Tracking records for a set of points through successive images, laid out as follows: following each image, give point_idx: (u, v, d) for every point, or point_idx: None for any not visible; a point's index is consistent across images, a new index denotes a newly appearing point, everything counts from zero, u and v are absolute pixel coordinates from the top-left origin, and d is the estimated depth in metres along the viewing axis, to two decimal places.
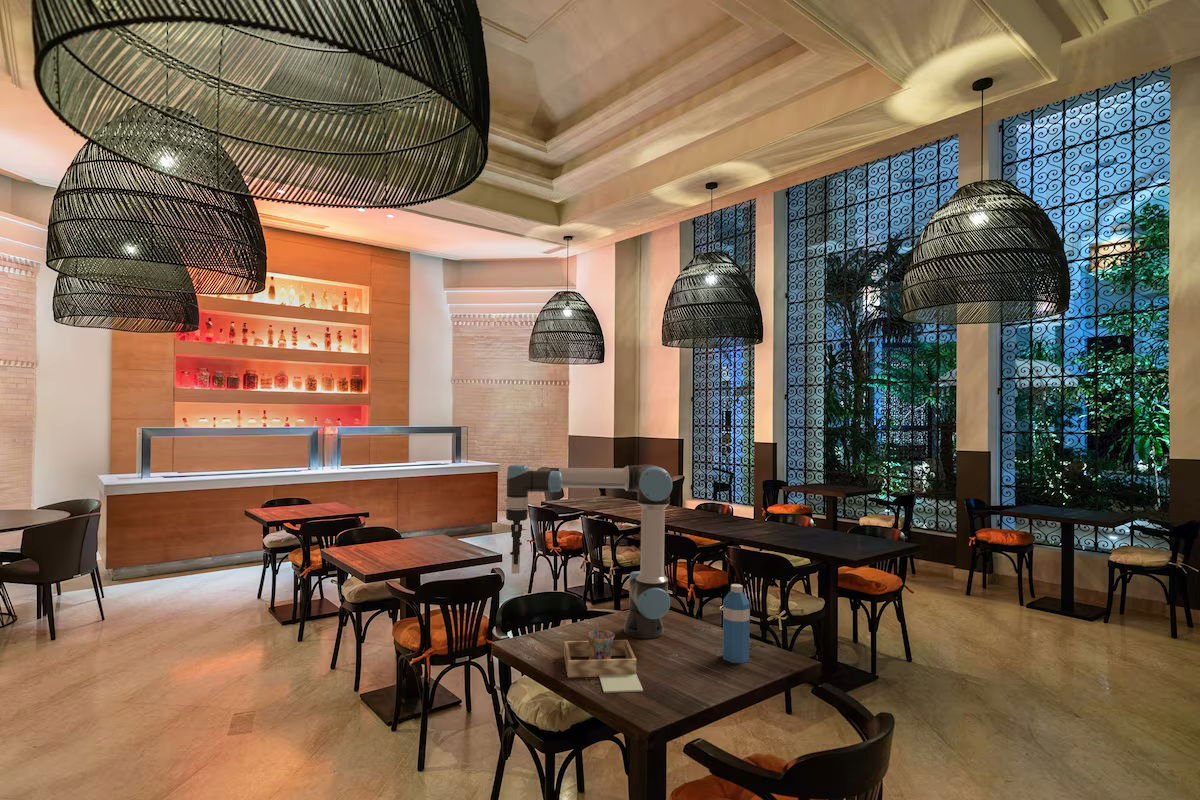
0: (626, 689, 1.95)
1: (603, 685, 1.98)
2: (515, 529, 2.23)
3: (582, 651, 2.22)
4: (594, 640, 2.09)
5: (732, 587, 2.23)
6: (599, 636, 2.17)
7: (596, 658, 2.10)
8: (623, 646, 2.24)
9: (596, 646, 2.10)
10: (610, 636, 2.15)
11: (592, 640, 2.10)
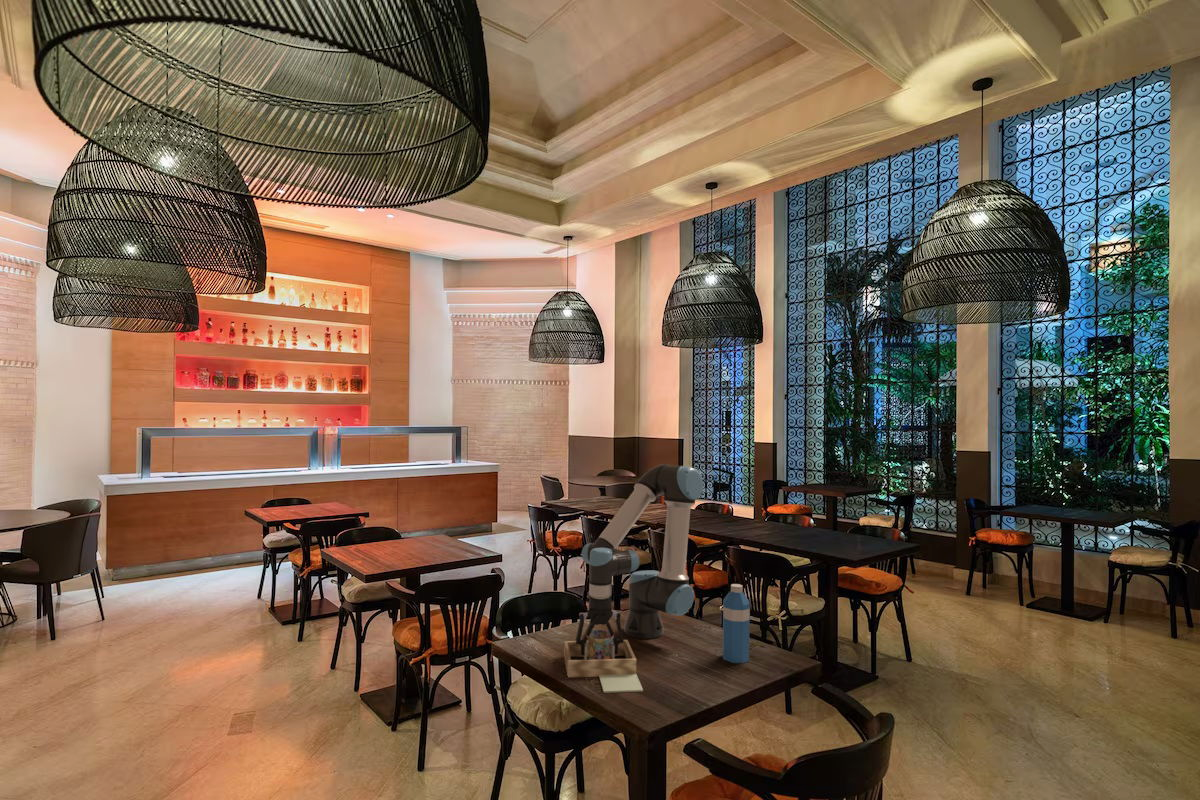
0: (626, 689, 1.95)
1: (603, 685, 1.98)
2: None
3: None
4: (594, 640, 2.09)
5: (732, 587, 2.23)
6: (598, 636, 2.17)
7: (596, 658, 2.10)
8: (623, 646, 2.24)
9: (596, 646, 2.10)
10: (610, 636, 2.15)
11: (592, 640, 2.10)
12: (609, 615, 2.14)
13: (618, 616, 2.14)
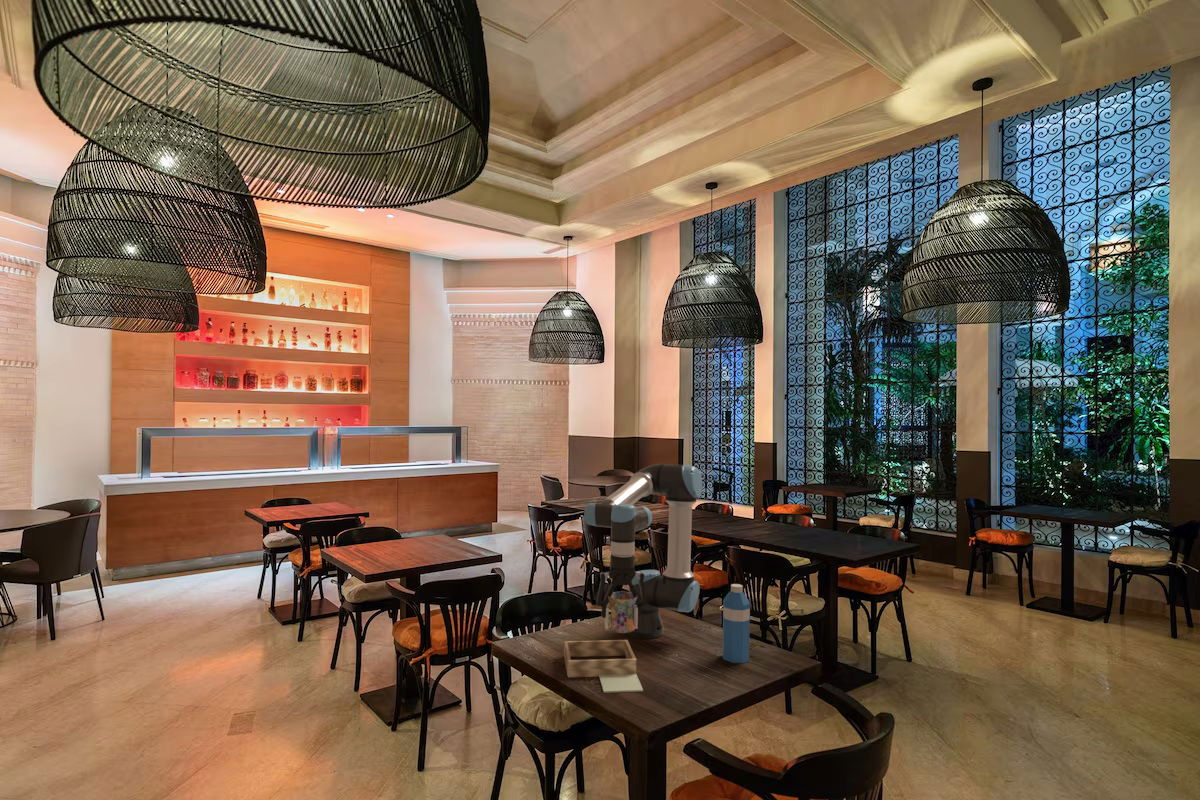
0: (626, 689, 1.95)
1: (603, 685, 1.98)
2: (600, 577, 2.01)
3: (582, 651, 2.22)
4: (616, 601, 1.96)
5: (732, 587, 2.23)
6: (620, 598, 2.03)
7: (618, 620, 1.96)
8: (623, 646, 2.24)
9: (618, 607, 1.96)
10: (632, 598, 2.01)
11: (614, 601, 1.96)
12: (632, 575, 2.00)
13: (641, 576, 2.01)
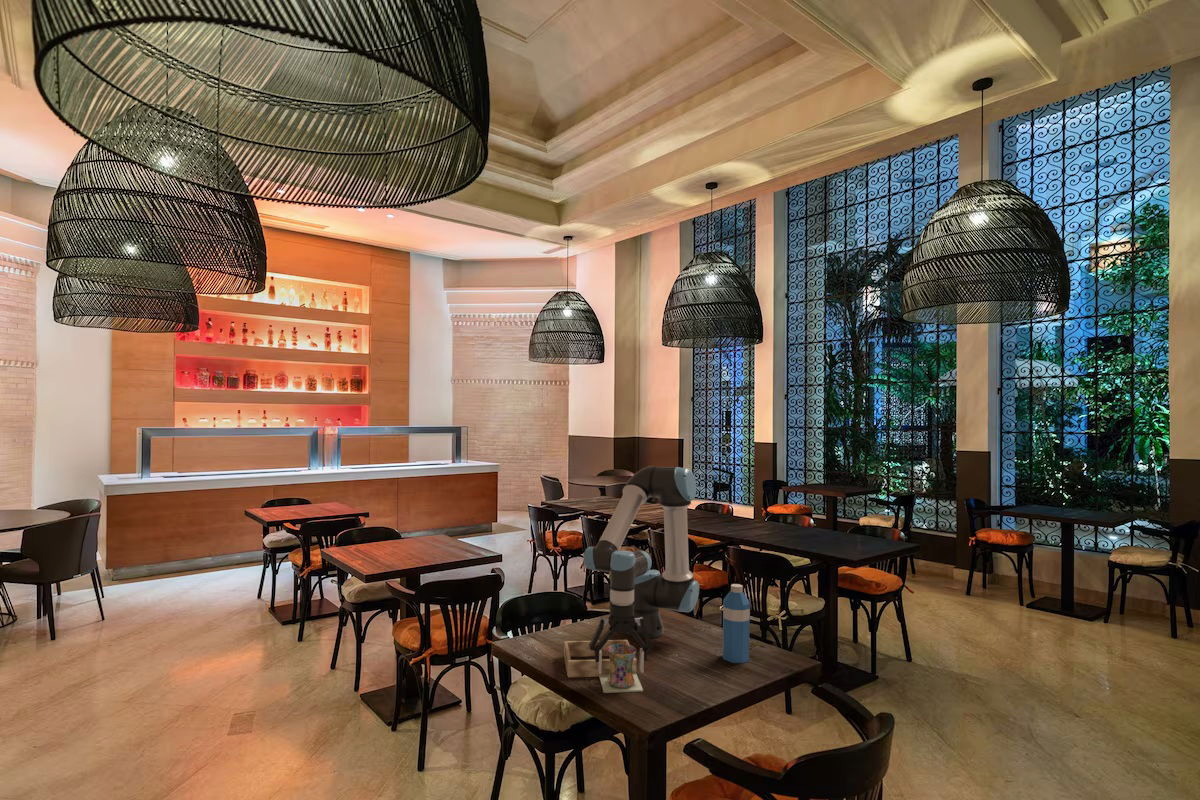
0: (626, 689, 1.95)
1: (603, 685, 1.98)
2: (599, 622, 2.00)
3: (582, 651, 2.22)
4: (615, 655, 1.95)
5: (732, 587, 2.23)
6: (619, 650, 2.03)
7: (617, 674, 1.96)
8: None
9: (617, 662, 1.96)
10: (631, 651, 2.01)
11: (613, 655, 1.96)
12: (632, 623, 2.00)
13: (641, 622, 2.00)
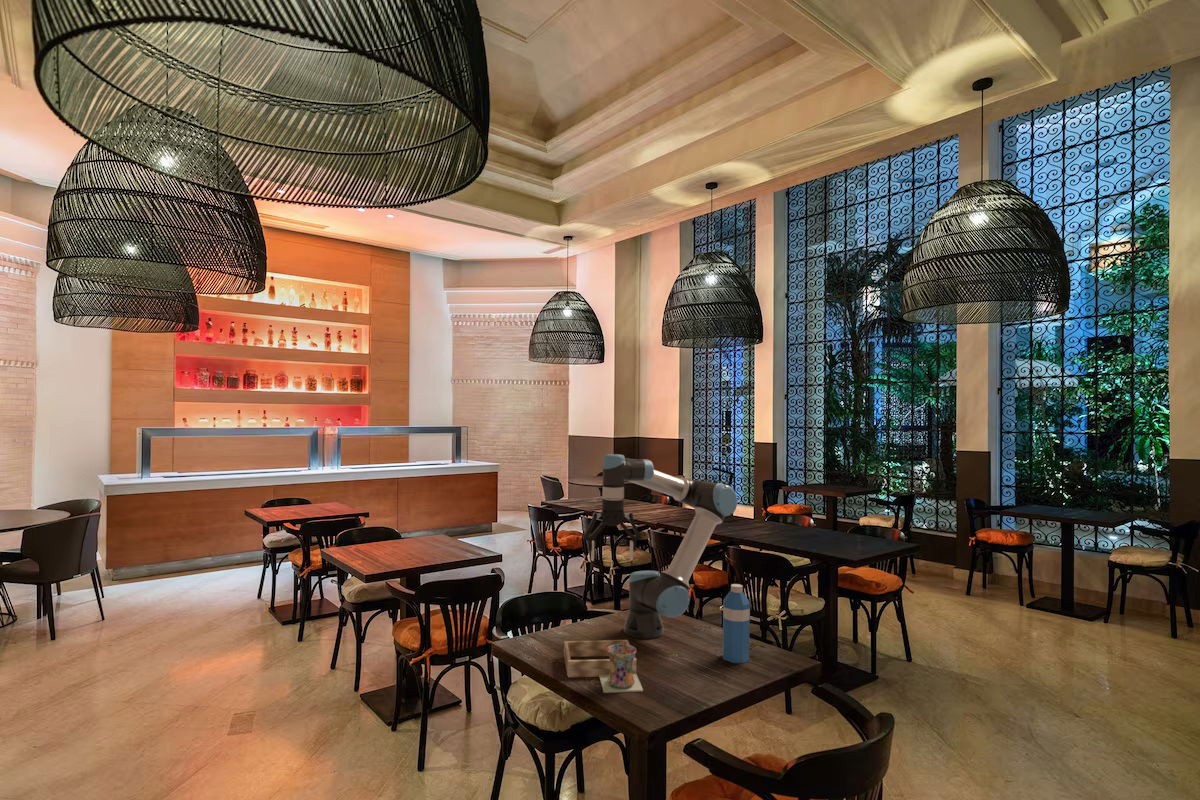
0: (626, 689, 1.95)
1: (603, 685, 1.98)
2: None
3: (582, 651, 2.22)
4: (615, 655, 1.95)
5: (732, 587, 2.23)
6: (619, 650, 2.03)
7: (617, 675, 1.96)
8: None
9: (617, 662, 1.96)
10: (631, 651, 2.01)
11: (613, 655, 1.96)
12: (622, 517, 2.24)
13: (630, 516, 2.25)
